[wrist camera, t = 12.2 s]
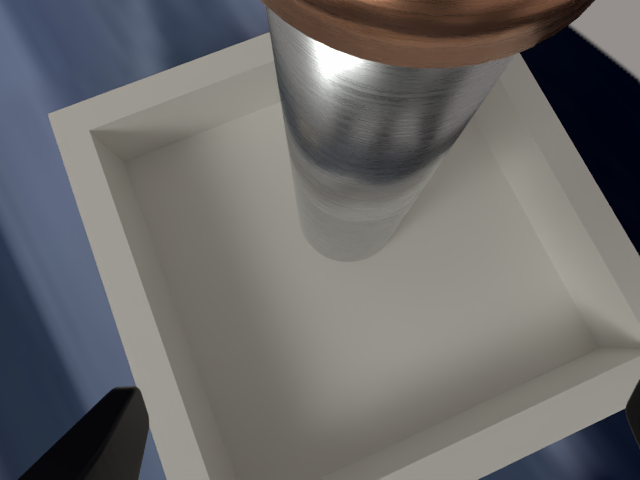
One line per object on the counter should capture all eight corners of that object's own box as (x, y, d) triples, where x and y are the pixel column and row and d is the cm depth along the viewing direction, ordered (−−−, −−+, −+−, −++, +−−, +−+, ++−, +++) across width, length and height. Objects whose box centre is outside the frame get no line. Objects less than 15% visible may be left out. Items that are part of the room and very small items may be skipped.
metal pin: (366, 294, 18) (558, 99, 4) (266, 231, 19) (84, -162, 4) (426, 197, 19) (776, -274, 5) (329, 139, 20) (360, -446, 5)
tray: (628, 363, 18) (706, 368, 15) (233, 551, 17) (209, 609, 13) (439, 24, 22) (464, -41, 18) (97, 156, 20) (47, 114, 17)
